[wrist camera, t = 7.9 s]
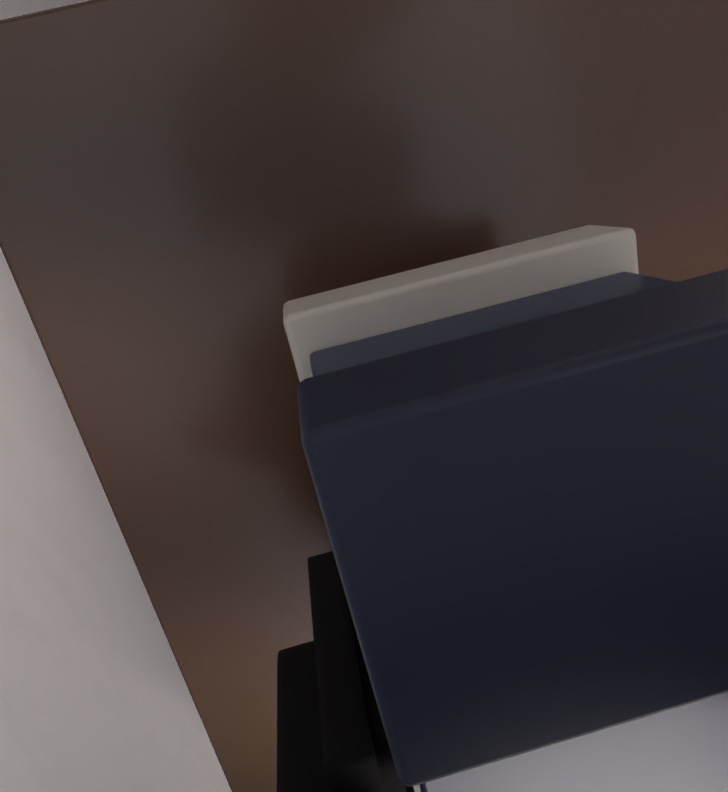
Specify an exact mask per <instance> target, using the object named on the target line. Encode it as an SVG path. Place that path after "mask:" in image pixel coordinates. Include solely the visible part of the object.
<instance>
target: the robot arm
mask: <svg viewBox="0 0 728 792" xmlns="http://www.w3.org/2000/svg"><path fill="white" fill-rule="evenodd" d="M308 574H309V587H310V599H311V612H312V625H313V637H314V641H310V642H307V643H303V644H300V645H296V646H293V647H289V648H286V649H282V650H279V652H278V659H277V792H414V789H413V787H410V786H405V785H404V784H403V783H402V782H401V780H400V779H399V778H398V775H397V772H396V768H395V765H394V761H393V758H392V754H391V751H390V747H389V744H388V740H387V737H386V734H385V730H384V727H383V723H382V720H381V716H380V713H379V709H378V706H377V702H376V699H375V696H374V692H373V689H372V685H371V682H370V678H369V675H368V671H367V668H366V664H365V661H364V658H363V654H362V651H361V647H360V644H359V640H358V637H357V633H356V630H355V626H354V623H353V619H352V616H351V613H350V609H349V606H348V602H347V599H346V595H345V592H344V588H343V585H342V581H341V578H340V575H339V571H338V568H337V564H336V561H335V557H334V554H333V551H330V552H326V553H323V554H319V555H316V556H312V557H309V558H308Z"/></svg>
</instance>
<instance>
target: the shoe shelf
mask: <svg viewBox="0 0 728 792" xmlns="http://www.w3.org/2000/svg"><path fill="white" fill-rule="evenodd" d="M586 225H597V226H611V227H625V228H632V229H633V230H634V231H635V234H636V244H637V257H638V270H639V274H641V275H646V276H651V277H656V278H661V279H666V280H671V281H676V282H679V281H683V280H686V279H690V278H694V277H698V276H702V275H706V274H710V273H713V272H717V271H721V270H725V269H728V0H90V1H86V2H81V3H77V4H72V5H68V6H63V7H59V8H54V9H50V10H45V11H41V12H36V13H32V14H27V15H23V16H18V17H14V18H9V19H5V20H0V247H1V249H2V252H3V254H4V256H5V259H6V261H7V263H8V266H9V268H10V270H11V273H12V275H13V277H14V280H15V282H16V285H17V287H18V289H19V292H20V294H21V296H22V299H23V301H24V303H25V306H26V308H27V310H28V313H29V315H30V317H31V320H32V322H33V325H34V327H35V329H36V332H37V334H38V336H39V339H40V341H41V343H42V346H43V348H44V350H45V353H46V355H47V357H48V360H49V362H50V364H51V367H52V369H53V372H54V374H55V376H56V379H57V381H58V383H59V386H60V388H61V390H62V393H63V395H64V397H65V400H66V402H67V404H68V407H69V409H70V412H71V414H72V416H73V419H74V421H75V423H76V426H77V428H78V430H79V433H80V435H81V437H82V440H83V442H84V444H85V447H86V449H87V452H88V454H89V456H90V459H91V461H92V463H93V466H94V468H95V470H96V473H97V475H98V477H99V480H100V482H101V484H102V487H103V489H104V492H105V494H106V496H107V499H108V501H109V503H110V506H111V508H112V510H113V513H114V515H115V517H116V520H117V522H118V524H119V527H120V529H121V532H122V534H123V536H124V539H125V541H126V543H127V546H128V548H129V550H130V553H131V555H132V557H133V560H134V562H135V564H136V567H137V569H138V572H139V574H140V576H141V579H142V581H143V583H144V586H145V588H146V590H147V593H148V595H149V597H150V600H151V602H152V604H153V607H154V609H155V611H156V614H157V616H158V619H159V621H160V623H161V626H162V628H163V630H164V633H165V635H166V637H167V640H168V642H169V644H170V647H171V649H172V651H173V654H174V656H175V659H176V661H177V663H178V666H179V668H180V670H181V673H182V675H183V677H184V680H185V682H186V684H187V687H188V689H189V691H190V694H191V696H192V699H193V701H194V703H195V706H196V708H197V710H198V713H199V715H200V717H201V720H202V722H203V724H204V727H205V729H206V731H207V734H208V736H209V739H210V741H211V743H212V746H213V748H214V750H215V753H216V755H217V757H218V760H219V762H220V764H221V767H222V769H223V771H224V774H225V776H226V779H227V781H228V783H229V786H230V788H231V790H232V792H277V659H278V652H279V650H282V649H286V648H289V647H293V646H296V645H300V644H303V643H307V642H310V641H314V637H313V625H312V612H311V599H310V587H309V574H308V558H309V557H312V556H316V555H319V554H323V553H326V552H330V551H333V550H332V547H331V543H330V540H329V537H328V533H327V530H326V526H325V523H324V519H323V516H322V512H321V509H320V505H319V502H318V499H317V495H316V492H315V488H314V485H313V481H312V478H311V474H310V471H309V467H308V464H307V460H306V457H305V454H304V450H303V447H302V443H301V433H300V421H299V409H298V397H297V389H298V384H299V383H300V381H299V377H298V374H297V370H296V367H295V363H294V359H293V356H292V352H291V349H290V345H289V342H288V338H287V334H286V331H285V327H284V324H283V306H284V304H285V303H286V302H287V301H290V300H294V299H298V298H302V297H306V296H310V295H314V294H318V293H321V292H325V291H329V290H333V289H337V288H341V287H345V286H349V285H353V284H357V283H361V282H365V281H369V280H373V279H377V278H381V277H385V276H389V275H393V274H397V273H401V272H404V271H408V270H412V269H416V268H420V267H424V266H428V265H432V264H436V263H440V262H444V261H448V260H452V259H456V258H460V257H464V256H468V255H472V254H476V253H480V252H483V251H487V250H491V249H495V248H499V247H503V246H507V245H511V244H515V243H519V242H523V241H527V240H531V239H535V238H539V237H543V236H547V235H551V234H555V233H559V232H563V231H566V230H570V229H574V228H578V227H582V226H586ZM413 789H414V788H413Z"/></svg>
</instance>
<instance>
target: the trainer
mask: <svg viewBox="0 0 728 792" xmlns="http://www.w3.org/2000/svg"><path fill="white" fill-rule="evenodd" d="M283 324H284V327H285V331H286V334H287V338H288V342H289V345H290V349H291V352H292V356H293V359H294V363H295V367H296V370H297V374H298V377H299V381H300V383H299V384H298V389H297V397H298V409H299V421H300V433H301V443H302V447H303V450H304V454H305V457H306V460H307V464H308V467H309V471H310V474H311V478H312V481H313V485H314V488H315V492H316V495H317V499H318V502H319V505H320V509H321V512H322V516H323V519H324V523H325V526H326V530H327V533H328V537H329V540H330V543H331V547H332V550H333V554H334V557H335V561H336V564H337V568H338V571H339V575H340V578H341V581H342V585H343V588H344V592H345V595H346V599H347V602H348V606H349V609H350V613H351V616H352V619H353V623H354V626H355V630H356V633H357V637H358V640H359V644H360V647H361V651H362V654H363V658H364V661H365V664H366V668H367V671H368V675H369V678H370V682H371V685H372V689H373V692H374V696H375V699H376V702H377V706H378V709H379V713H380V716H381V720H382V723H383V727H384V730H385V734H386V737H387V740H388V744H389V747H390V751H391V754H392V758H393V761H394V765H395V768H396V772H397V775H398V778H399V779H400V780H401V782H402V783H403V784H404V785H405V786H410V787H413V788H414V792H728V269H725V270H721V271H717V272H713V273H710V274H706V275H702V276H698V277H694V278H690V279H686V280H683V281H679V282H676V281H671V280H666V279H661V278H656V277H651V276H646V275H641V274H639V270H638V257H637V244H636V234H635V231H634V230H633V229H632V228H625V227H611V226H597V225H586V226H582V227H578V228H574V229H570V230H566V231H563V232H559V233H555V234H551V235H547V236H543V237H539V238H535V239H531V240H527V241H523V242H519V243H515V244H511V245H507V246H503V247H499V248H495V249H491V250H487V251H483V252H480V253H476V254H472V255H468V256H464V257H460V258H456V259H452V260H448V261H444V262H440V263H436V264H432V265H428V266H424V267H420V268H416V269H412V270H408V271H404V272H401V273H397V274H393V275H389V276H385V277H381V278H377V279H373V280H369V281H365V282H361V283H357V284H353V285H349V286H345V287H341V288H337V289H333V290H329V291H325V292H321V293H318V294H314V295H310V296H306V297H302V298H298V299H294V300H290V301H287V302H286V303H285V304H284V306H283Z"/></svg>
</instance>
